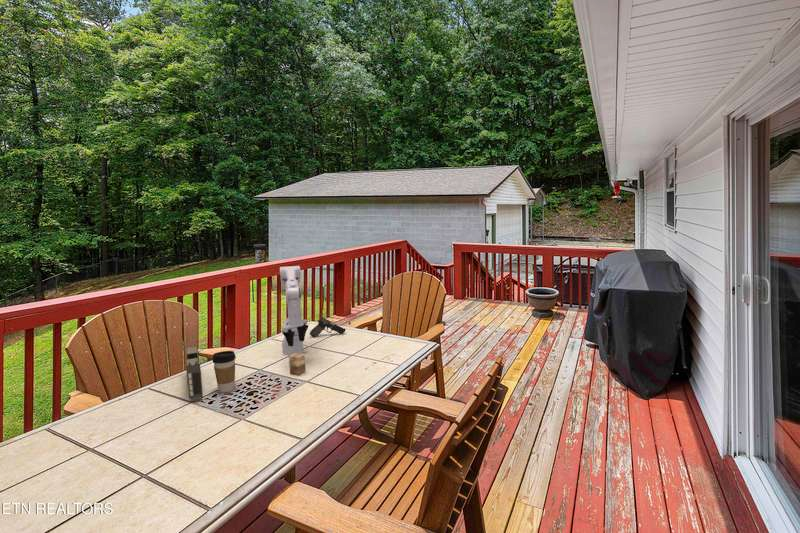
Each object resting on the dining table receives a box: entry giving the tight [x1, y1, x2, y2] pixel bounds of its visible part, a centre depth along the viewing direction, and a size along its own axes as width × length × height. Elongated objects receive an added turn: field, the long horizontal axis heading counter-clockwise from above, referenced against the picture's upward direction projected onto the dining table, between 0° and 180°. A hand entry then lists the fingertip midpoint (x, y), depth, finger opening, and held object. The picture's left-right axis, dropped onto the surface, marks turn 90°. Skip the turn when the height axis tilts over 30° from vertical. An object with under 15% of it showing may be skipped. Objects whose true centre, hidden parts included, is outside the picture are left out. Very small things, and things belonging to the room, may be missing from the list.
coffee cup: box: [211, 350, 236, 394], centre depth 159 cm, size 8×8×15 cm
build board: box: [287, 370, 309, 378], centre depth 175 cm, size 14×11×1 cm
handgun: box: [309, 316, 346, 338], centre depth 228 cm, size 17×2×12 cm
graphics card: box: [185, 346, 204, 403], centre depth 164 cm, size 33×5×14 cm, turn 28°
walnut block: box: [289, 362, 306, 377], centre depth 173 cm, size 4×4×4 cm
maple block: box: [288, 353, 306, 367], centre depth 173 cm, size 4×4×4 cm
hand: (296, 343), depth 182 cm, fingers open, 7 cm apart
